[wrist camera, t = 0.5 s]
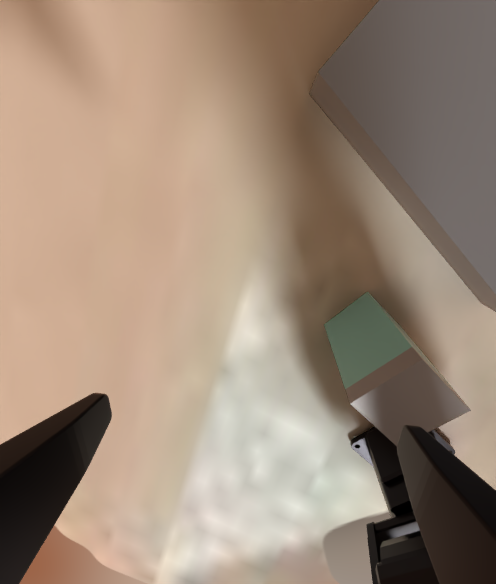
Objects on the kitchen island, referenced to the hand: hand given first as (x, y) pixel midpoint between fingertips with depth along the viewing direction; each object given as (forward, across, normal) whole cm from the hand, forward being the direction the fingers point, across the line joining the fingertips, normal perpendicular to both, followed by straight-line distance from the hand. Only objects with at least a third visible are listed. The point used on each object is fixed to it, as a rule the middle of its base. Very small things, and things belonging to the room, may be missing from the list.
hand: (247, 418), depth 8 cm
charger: (+13, -7, +3) cm, 15 cm away
